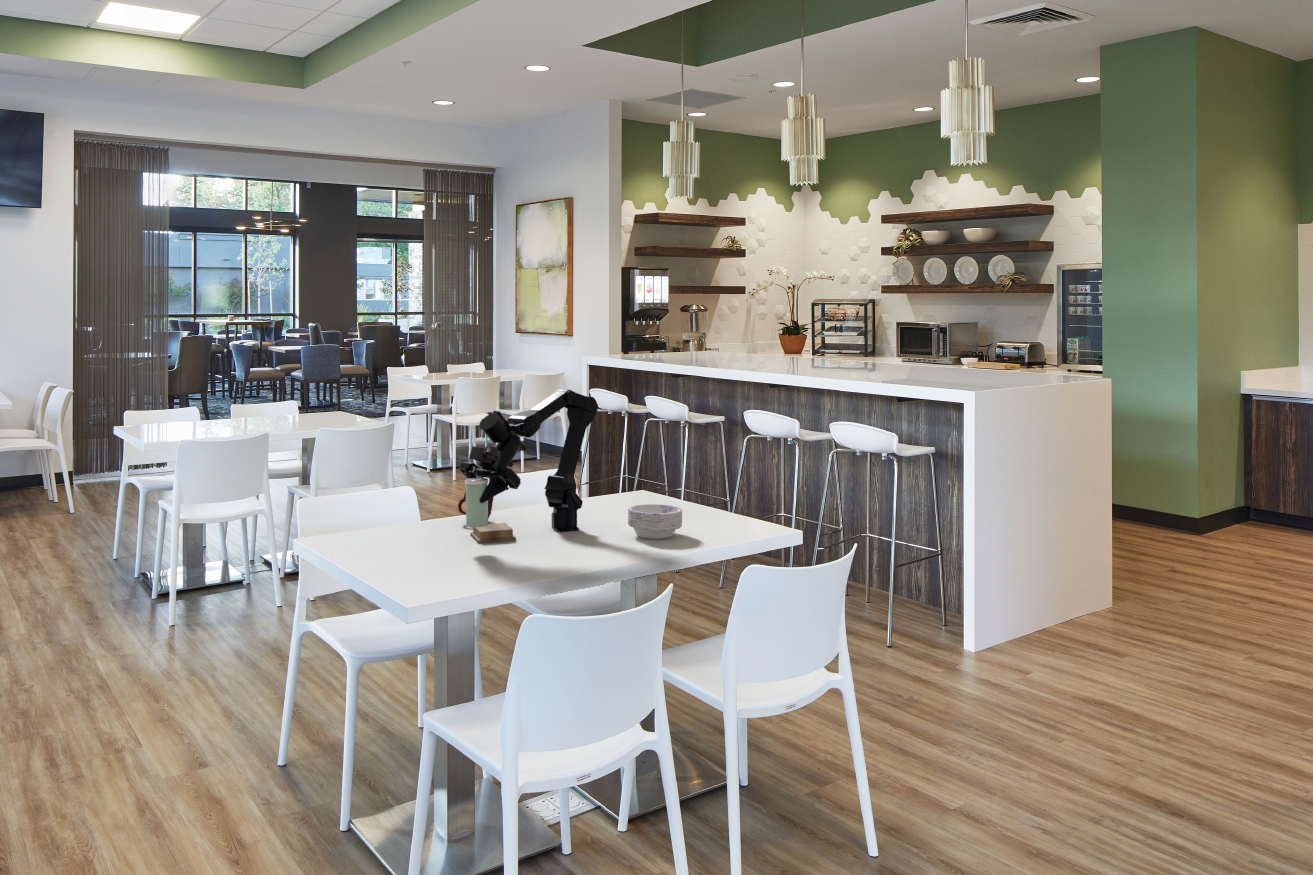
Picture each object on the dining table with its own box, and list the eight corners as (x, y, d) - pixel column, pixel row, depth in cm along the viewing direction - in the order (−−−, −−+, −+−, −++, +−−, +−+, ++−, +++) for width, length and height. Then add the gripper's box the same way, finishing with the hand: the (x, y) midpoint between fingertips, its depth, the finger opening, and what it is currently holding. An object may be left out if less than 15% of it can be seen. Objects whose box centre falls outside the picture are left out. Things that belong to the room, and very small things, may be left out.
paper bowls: (690, 533, 283) (690, 505, 282) (668, 544, 269) (668, 515, 268) (642, 528, 289) (642, 501, 288) (618, 538, 275) (618, 510, 274)
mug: (465, 526, 289) (464, 492, 288) (454, 521, 295) (453, 488, 294) (498, 522, 295) (498, 489, 293) (487, 517, 301) (486, 485, 300)
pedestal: (506, 532, 282) (506, 522, 281) (515, 540, 272) (515, 529, 272) (470, 535, 278) (470, 524, 277) (478, 543, 268) (478, 532, 268)
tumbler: (486, 521, 263) (485, 477, 262) (491, 526, 258) (490, 480, 256) (463, 523, 261) (462, 478, 260) (468, 528, 256) (467, 482, 254)
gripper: (463, 431, 265) (431, 478, 258) (512, 437, 254) (480, 486, 247) (485, 457, 272) (455, 503, 265) (534, 464, 261) (504, 512, 254)
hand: (472, 500), depth 258 cm, fingers closed on tumbler, 6 cm apart
